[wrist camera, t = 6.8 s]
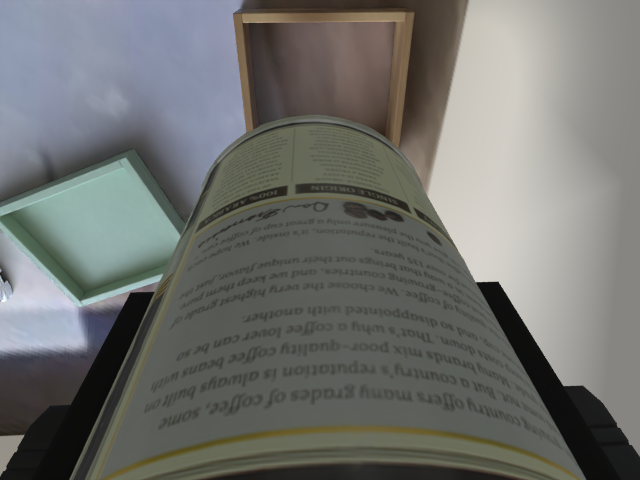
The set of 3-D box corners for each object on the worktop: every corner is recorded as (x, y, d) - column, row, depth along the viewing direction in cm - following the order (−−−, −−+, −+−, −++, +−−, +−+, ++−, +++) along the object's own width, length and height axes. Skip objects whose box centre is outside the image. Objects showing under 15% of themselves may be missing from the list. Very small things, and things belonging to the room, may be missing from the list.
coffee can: (441, 279, 20) (631, 710, 8) (251, 326, 21) (190, 749, 10) (406, 73, 14) (845, 524, 3) (151, 155, 16) (-272, 679, 4)
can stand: (404, 7, 30) (414, 11, 27) (388, 161, 37) (395, 177, 35) (239, 8, 30) (232, 13, 27) (255, 163, 37) (251, 179, 34)
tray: (134, 148, 36) (125, 157, 34) (206, 255, 43) (202, 267, 41) (-3, 203, 39) (-17, 213, 37) (86, 295, 46) (78, 307, 44)
